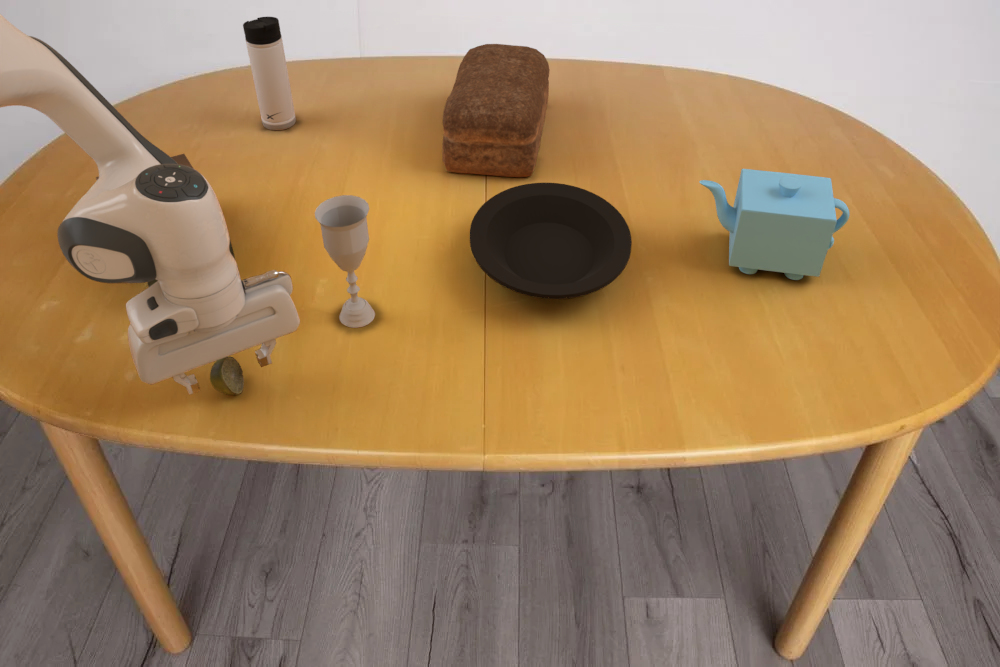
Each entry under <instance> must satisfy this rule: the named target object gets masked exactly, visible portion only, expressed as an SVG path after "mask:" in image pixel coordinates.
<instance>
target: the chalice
mask: <svg viewBox="0 0 1000 667" xmlns="http://www.w3.org/2000/svg"><path fill="white" fill-rule="evenodd" d="M369 211H370V205H369V202H367V201H366V199H364V198H362V197H360V196H356V195H352V194H348V195H347V194H342V195H337V196H333V197H331V198H328V199H325V200H324V201H322V202H321V203H319V205H318V206H317V207H316V208H315V211H314V218H315V220H316V221H317V222H318V223H319V224H320V228H321V229H320V230H321V236H322V244H323V247H324V249H325V251H326V253H327V254H328V256H329V257H330V258H331V260H332V261H333V262H334V263H335V265H337V267H338V268H339V269H340V270H341V271H343V272H347V277H346V278H345V281H346V282H347V283H348V285H349V286H348V287H347V289H346V291H347V293H348V294H349V295H350V298H348V299H347V300H345V302H344V303H343V304H342V308H341V310H340V313H339V316H338V318H339V322H340V323H341V324H342V325H344V326H345V327H349V328H354V329H355V328H362V327H366V326H368V325H369V324H371V323H372V322H373V321H374V319H375V317H376V312H375V310H374V309H373V307H372V306H371V304H369V302H368V300H366V299H365V298H364V297H360V296H359V295H358V294H359V292H360V291H361V288H360V286H359V285H357V281H358V279H359V278H358V276H357V274H356V273H355V271H356V270H357V269H359V268H360V267H361V264H362V263H363V259H364V257H365V255H366V253H367V250H368V245H369V241H370V234H369V228H368V226H369V225H368V219H367V216H368V214H369Z"/></svg>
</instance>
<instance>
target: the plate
mask: <svg viewBox="0 0 1000 667" xmlns="http://www.w3.org/2000/svg"><path fill="white" fill-rule="evenodd" d="M632 245H633V243H632V233H631V230H630V227H629V225H628V222H627V221H626V219H625V218H624V216H623V215H622V214H621V212H620V211H619V210H618V209H617V208H616V207H615V206H614V205H613V204H612V203H610V201H607V200H606V199H604V198H603V197H601V196H600V195H598V194H595V193H594V192H592V191H589V190H587V189H585V188H581V187H578V186H575V185H572V184H571V185H570V184H565V183H558V182H532V183H531V182H530V183H525V184H520V185H517V186H513V187H510V188H508V189H505V190H503V191H500V192H499V193H497V194H494V195H493V196H492V197H490V198H489V199H487V200H486V201H485V202H484V203H483V204H482V205H481V206H480V207H479V208H478V210H477V211H476V213H475V214H474V216H473V218H472V220H471V223H470V228H469V246H470V249H471V253H472V255H473V258H474V260H475V262H476V264H477V266H479V268H480V269H481V270H482V271H483V272H484V273H485V275H486V276H488V277H489V278H490V279H492V280H493V281H494V282H496V283H497V284H499V285H500V286H502V287H503V288H506V289H508V290H510V291H513V292H515V293H517V294H521V295H524V296H528V297H532V298H538V299H547V300H567V299H574V298H579V297H584V296H586V295H590V294H593V293H595V292H598V291H600V290H601V289H602V290H603V288H606V287H607V286H609V285H610V284H612V283H613V282H614V281H615V280H616V279H618V277H619V276H620V275H621V274H622V273H623V271H624V270H625V269H626V267H627V265H628V263H629V261H630V258H631V253H632Z"/></svg>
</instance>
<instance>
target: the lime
mask: <svg viewBox="0 0 1000 667" xmlns="http://www.w3.org/2000/svg"><path fill="white" fill-rule="evenodd" d="M243 373H244V372H243V369H242V366H241V364H240V362H239V361H238V360H237V359H236V358H235V357H233V356H231V355H230V356H227V357H225V358H222V359H219V360H217V361H214V362H213V365H212V366H211V369H210V372H209V380H210V384H211V385H212V387H213V389H215V390H216V391H217V392H219V393H222V394H224V395H227V396H234V395H235V396H237V395H239V394H241V393H243V391H244V390H243V389H244V385H245V384H244V383H245V379H244V375H243Z"/></svg>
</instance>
